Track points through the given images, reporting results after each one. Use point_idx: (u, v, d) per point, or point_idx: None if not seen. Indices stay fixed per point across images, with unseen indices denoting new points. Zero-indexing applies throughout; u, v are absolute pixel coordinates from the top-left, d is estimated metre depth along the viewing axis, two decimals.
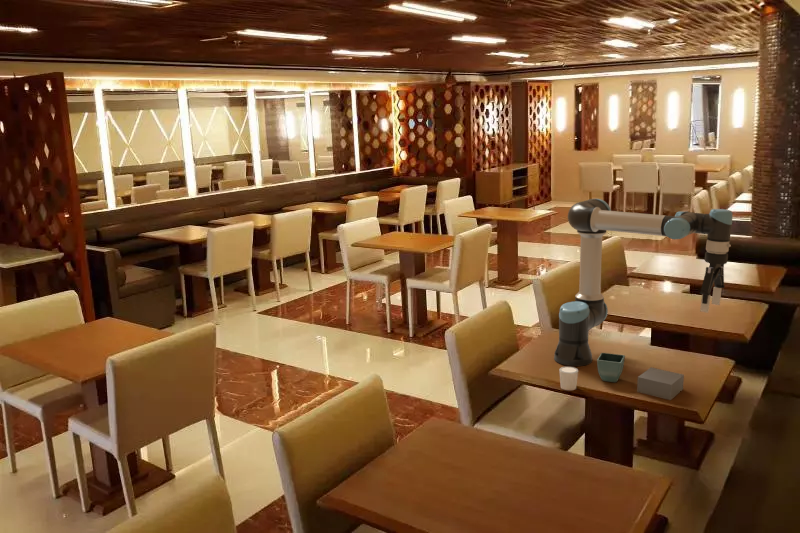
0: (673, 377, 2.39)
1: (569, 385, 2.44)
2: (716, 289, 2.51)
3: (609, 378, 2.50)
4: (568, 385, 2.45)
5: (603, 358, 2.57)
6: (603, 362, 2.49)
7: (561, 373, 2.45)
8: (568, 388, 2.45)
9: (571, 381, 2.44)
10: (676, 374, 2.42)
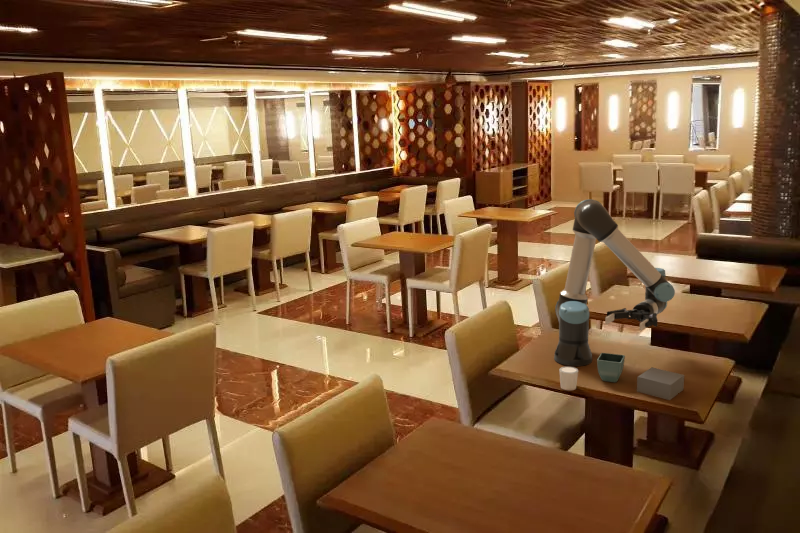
0: (673, 377, 2.39)
1: (569, 385, 2.44)
2: (613, 316, 2.65)
3: (609, 378, 2.50)
4: (568, 385, 2.45)
5: (603, 358, 2.57)
6: (603, 362, 2.49)
7: (561, 373, 2.45)
8: (568, 388, 2.45)
9: (571, 381, 2.44)
10: (676, 374, 2.42)
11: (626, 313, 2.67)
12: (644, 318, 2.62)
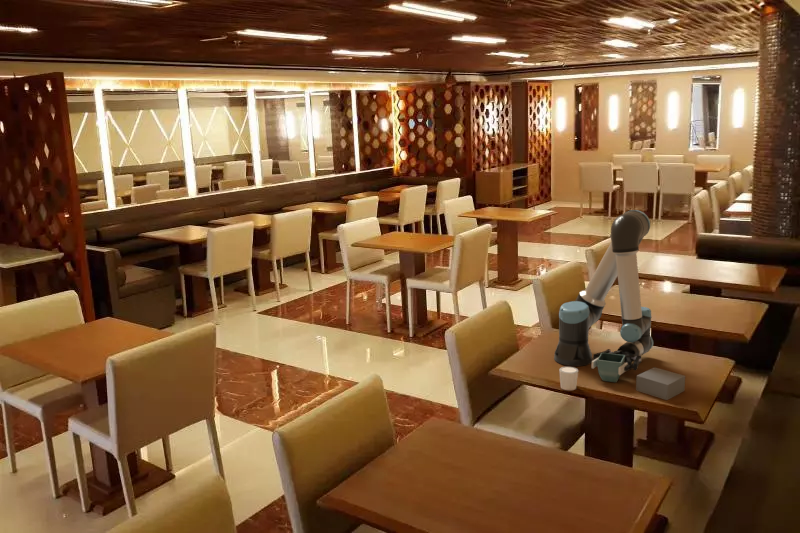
0: (673, 377, 2.39)
1: (569, 385, 2.44)
2: None
3: (609, 378, 2.50)
4: (568, 385, 2.45)
5: (603, 358, 2.57)
6: (603, 362, 2.49)
7: (561, 373, 2.45)
8: (568, 388, 2.45)
9: (571, 381, 2.44)
10: (677, 375, 2.41)
11: None
12: (626, 360, 2.55)
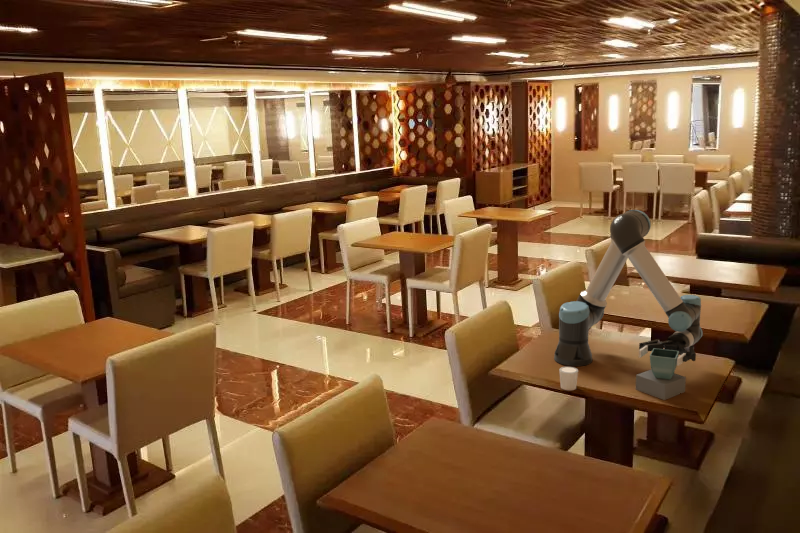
0: (672, 378, 2.39)
1: (569, 385, 2.44)
2: (647, 349, 2.45)
3: (663, 375, 2.37)
4: (568, 385, 2.45)
5: (655, 354, 2.44)
6: (656, 358, 2.36)
7: (561, 373, 2.45)
8: (568, 388, 2.45)
9: (571, 381, 2.44)
10: (678, 376, 2.40)
11: (660, 345, 2.47)
12: (680, 351, 2.42)
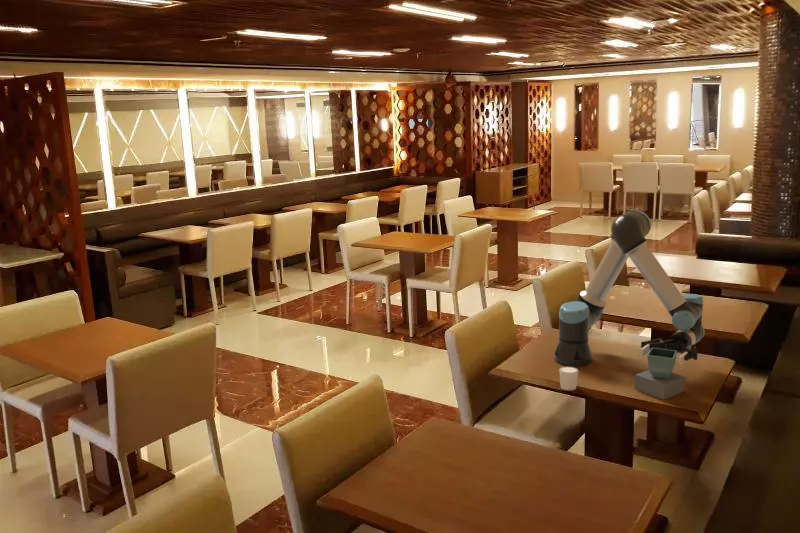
0: (672, 378, 2.39)
1: (569, 385, 2.44)
2: (648, 347, 2.46)
3: (660, 374, 2.38)
4: (568, 385, 2.45)
5: (653, 353, 2.44)
6: (654, 358, 2.36)
7: (561, 373, 2.45)
8: (568, 388, 2.45)
9: (571, 381, 2.44)
10: (677, 375, 2.41)
11: (662, 344, 2.48)
12: (682, 350, 2.43)
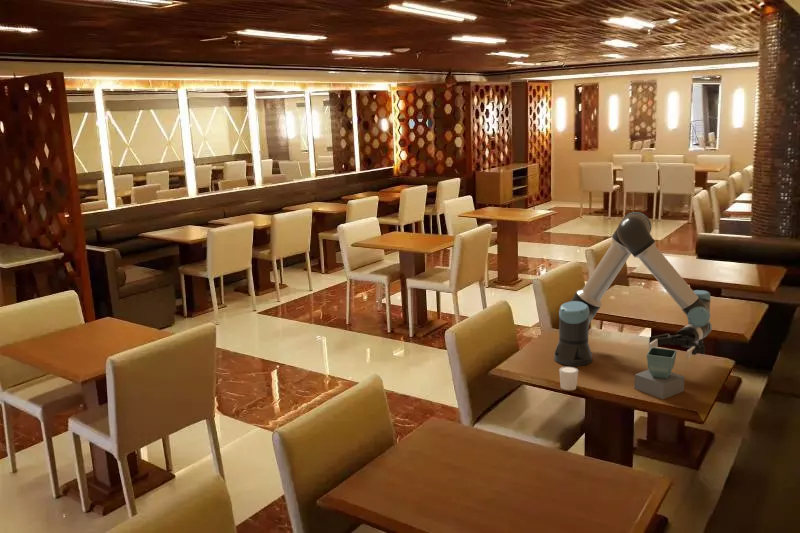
0: (671, 377, 2.39)
1: (569, 385, 2.44)
2: (657, 342, 2.52)
3: (659, 374, 2.38)
4: (568, 385, 2.45)
5: (653, 353, 2.45)
6: (653, 357, 2.37)
7: (561, 373, 2.45)
8: (568, 388, 2.45)
9: (571, 381, 2.44)
10: (676, 375, 2.41)
11: (670, 339, 2.53)
12: (690, 344, 2.48)
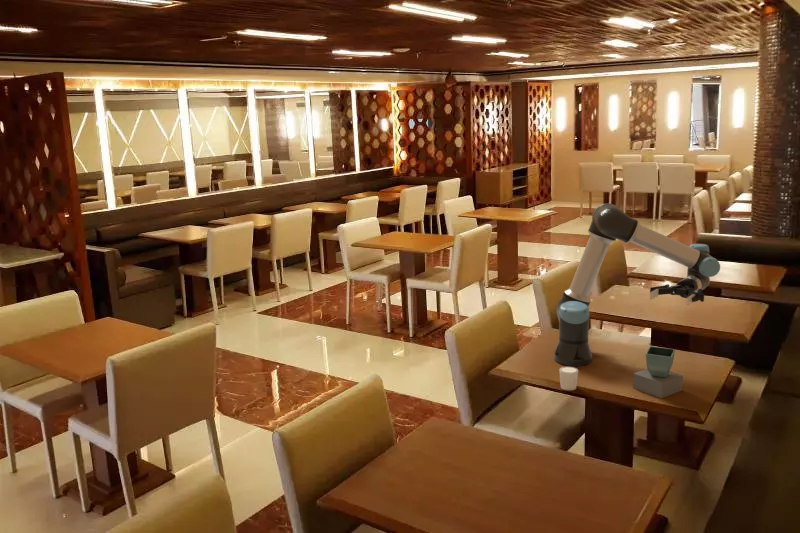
0: (669, 376, 2.40)
1: (569, 385, 2.44)
2: (657, 292, 2.59)
3: (658, 373, 2.39)
4: (568, 385, 2.45)
5: (651, 352, 2.45)
6: (652, 356, 2.38)
7: (561, 373, 2.45)
8: (568, 388, 2.45)
9: (571, 381, 2.44)
10: (675, 374, 2.42)
11: (670, 289, 2.61)
12: (689, 293, 2.56)
